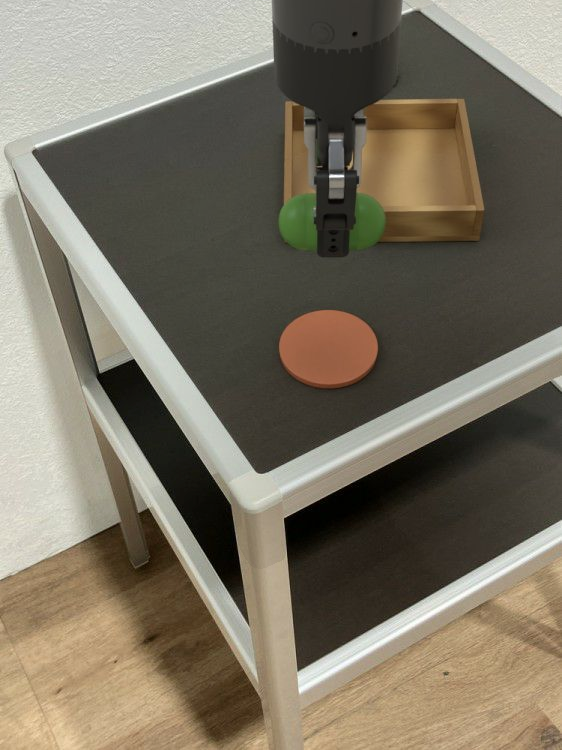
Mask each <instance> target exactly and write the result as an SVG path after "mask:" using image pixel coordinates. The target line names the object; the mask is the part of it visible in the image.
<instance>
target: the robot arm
mask: <svg viewBox="0 0 562 750" xmlns="http://www.w3.org/2000/svg"><path fill="white" fill-rule="evenodd" d="M403 3H404V0H271V20H272V46H273V47H272V49H273V50H272V51H273V75H274V80H275V84H276V85H277V87H278V89H279V90H280V92H281V93H282V94H283V95H284V96H285V97H286V98H287V99H288V100H289V101H292V102H295V103H297V104H299V105H301V106H304V144H305V146H306V147H307V148H308V184H309V186H310V188H312V189H314V190H315V191H316V206H314V214H316V217H314V225H315V224H316V230H317V250H316V254H317V256H318V257H320V258H345V257H347V256H348V255H349V253H350V250H349V235H350V230H353V229H354V224H356V216H355V205H356V193H357V188H358V187H359V186H360V184H361V167H362V148H363V147H364V145H365V144H366V134H367V118H366V116H364V113H365V107H367V106H369V105H372V104H374V103H376V102H378V101H379V100H383V99H384V98H385V97H386V96H387V95H388V94H389V93H390V92H391V90H392V89H393V88H394V87H395V85H396V84H395V81H396V78H397V69H398V66H399V55H400V43H401V27H402V13H403ZM398 70H399V69H398ZM394 84H395V85H394ZM352 154H353V165H352V167H351V168H350V169H349V170H348V167H347V166H350V163H351V161H352ZM316 166H322V167H316Z"/></svg>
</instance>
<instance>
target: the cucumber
mask: <svg viewBox="0 0 562 750" xmlns="http://www.w3.org/2000/svg"><path fill="white" fill-rule="evenodd" d="M314 206H316V193H306V194H299V195H296V196H294V197H292V198H291V199H289V200H288V201H287V202H286V203H285V204H284V203H283V205H282V207H281V209H280V211H279V214H278V219H277V224H278V230H279V233H280V235H281V237H282V239H283V240H285V241H286V242H287V243H286V244H288V245H289V246H290V247H292V248H294V249H296V250H300V251H305V252H306V251H317V230H316V224H315V225H314V217H316V214H314ZM355 216H356V224H354V229H353V230H350V235H349V251H363V250H366V249H368V248H371V247H372V246H374V245H376V243H378V242H377V241H378V240H379V239H380V238H381V236H382V234H383V232H384V229H385V225H386V217H385V213H384V210H383V208H382V206H381V205H380V203H379V202H378V201H377V200H376V199H374V198H373V197H371V196H369V195H367V194H363V193H356V205H355Z"/></svg>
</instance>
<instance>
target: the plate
mask: <svg viewBox="0 0 562 750" xmlns="http://www.w3.org/2000/svg"><path fill="white" fill-rule="evenodd" d="M278 344H279V345H278V355H279V359H280V362H281V364H282V366H283V367H284V370H286V372H287V373H288V374H289V375H290V376H291V377H292V378H294V379H295V380H296V381H298V382H300V383H302V384H304V385H307V386H309V387H313V388H318V389H329V390H330V389H331V390H332V389H339V388H344V387H348V386H351V385H353V384H356V383H357V382H359V381H361V380H362V379H364V378H365V377H366V376H367V375H369V374H370V373H371V371H372V369H373V368H374V366H375V365H376V363H377V360H378V354H379V343H378V339H377V336H376V333H375V332H374V330H372V327H370V325H369V324H367V322H365V321H364V320H362V319H361V318H359V317H358V316H356V315H354V314H352V313H349V312H345V311H341V310H335V309H320V310H314V311H310V312H308V313H305V314H303V315H300V316H298V317H297V318H295V319H293V321H292V322H290V323H288V325H287V326H286V327H285V329H284V330H283V331H282V334H281V336H280V337H279V342H278Z"/></svg>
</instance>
